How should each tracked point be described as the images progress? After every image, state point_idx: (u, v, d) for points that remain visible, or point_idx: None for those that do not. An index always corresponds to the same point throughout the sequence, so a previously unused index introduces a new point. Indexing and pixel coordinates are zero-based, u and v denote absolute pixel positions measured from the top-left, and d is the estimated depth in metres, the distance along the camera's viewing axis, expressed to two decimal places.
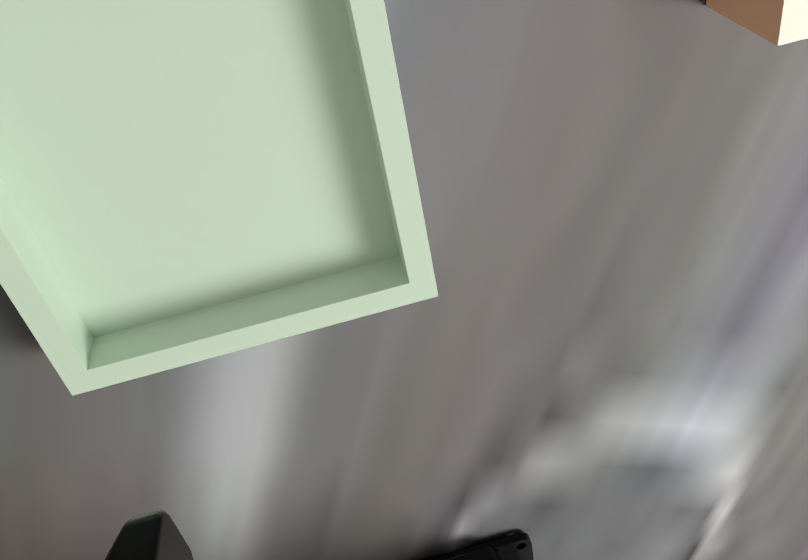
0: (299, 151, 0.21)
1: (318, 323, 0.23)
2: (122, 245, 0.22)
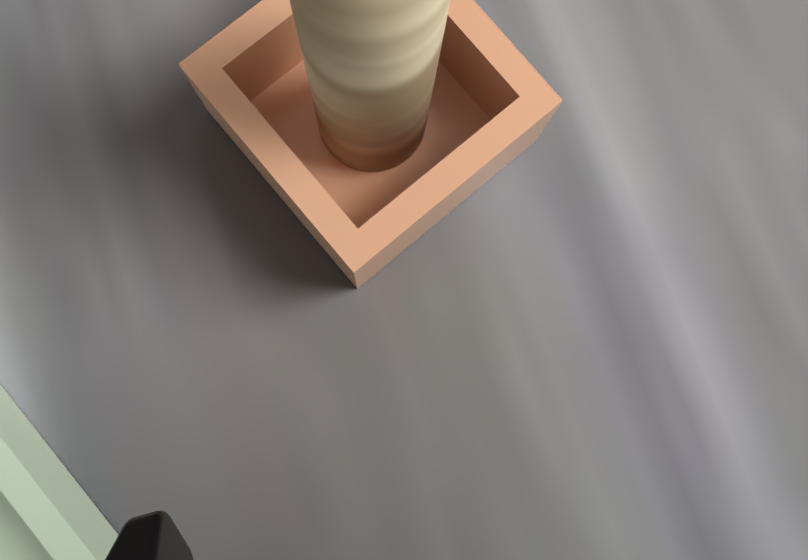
0: None
1: None
2: None
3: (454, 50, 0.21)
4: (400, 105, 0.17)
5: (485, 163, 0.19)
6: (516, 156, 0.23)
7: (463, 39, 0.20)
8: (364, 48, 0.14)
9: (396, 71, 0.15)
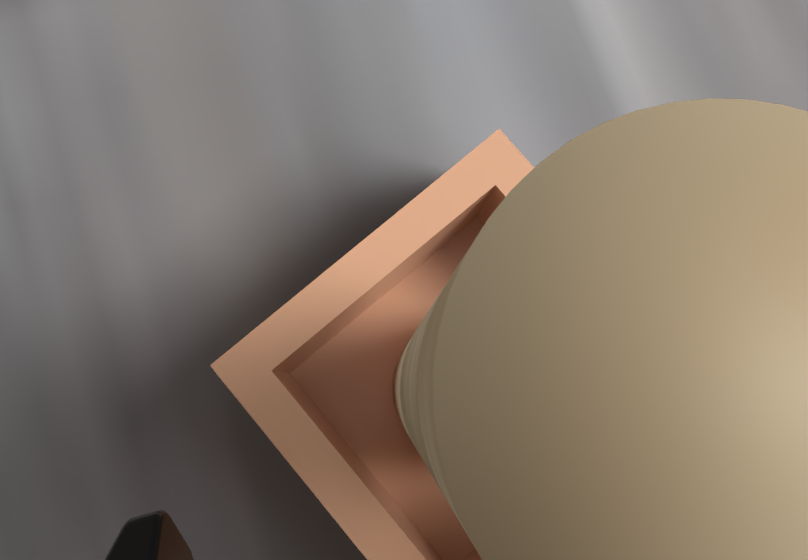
0: None
1: None
2: None
3: None
4: None
5: None
6: None
7: None
8: None
9: None
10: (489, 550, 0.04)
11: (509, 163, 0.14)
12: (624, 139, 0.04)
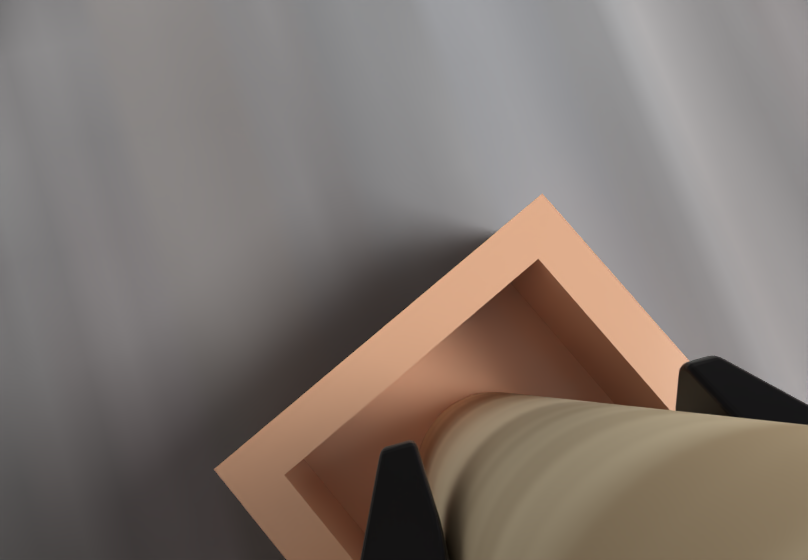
0: None
1: None
2: None
3: (633, 397, 0.14)
4: None
5: None
6: None
7: (661, 408, 0.13)
8: None
9: None
10: None
11: (554, 233, 0.13)
12: None
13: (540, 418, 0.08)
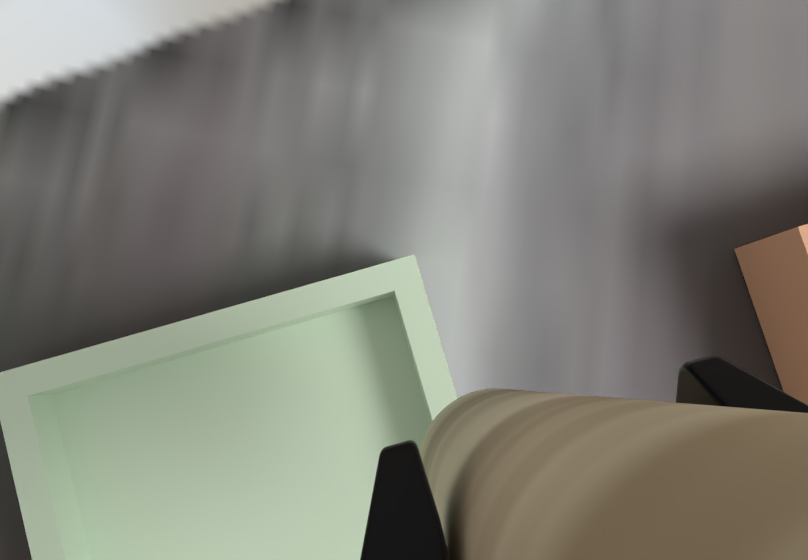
0: None
1: None
2: None
3: None
4: None
5: None
6: None
7: None
8: None
9: None
10: None
11: None
12: None
13: (542, 412, 0.08)
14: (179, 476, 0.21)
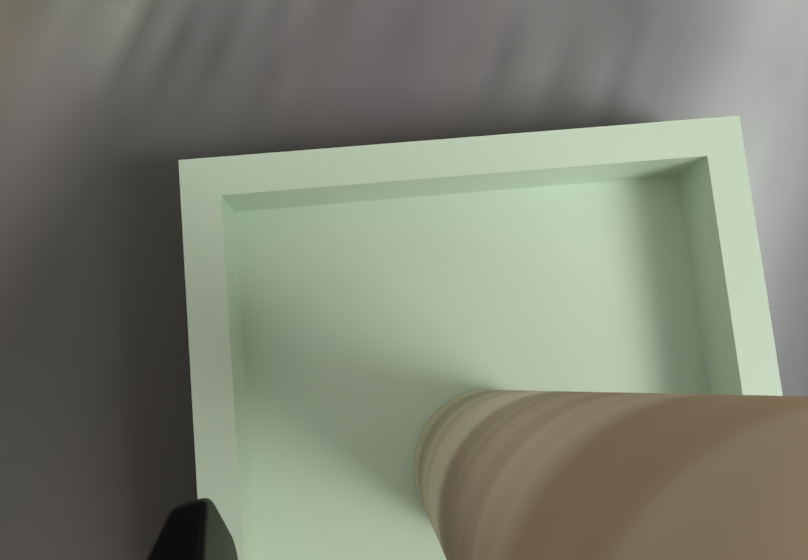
0: None
1: None
2: None
3: None
4: None
5: None
6: None
7: None
8: None
9: None
10: None
11: None
12: (796, 451, 0.03)
13: (524, 404, 0.09)
14: (376, 344, 0.16)
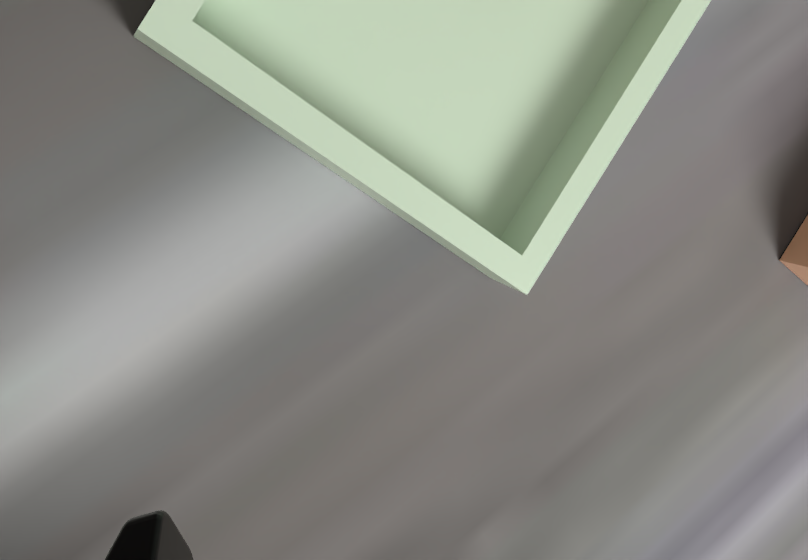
0: (525, 68, 0.21)
1: (424, 216, 0.19)
2: None
3: None
4: None
5: None
6: None
7: None
8: None
9: None
10: None
11: None
12: None
13: None
14: None
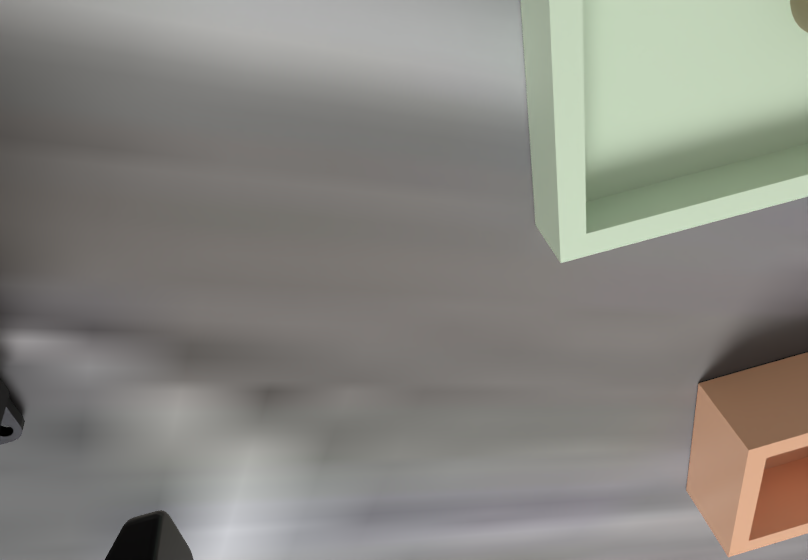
0: (711, 105, 0.22)
1: (562, 145, 0.19)
2: None
3: (783, 498, 0.32)
4: None
5: (735, 519, 0.30)
6: (689, 482, 0.34)
7: (793, 519, 0.31)
8: None
9: None
10: None
11: None
12: None
13: None
14: None
